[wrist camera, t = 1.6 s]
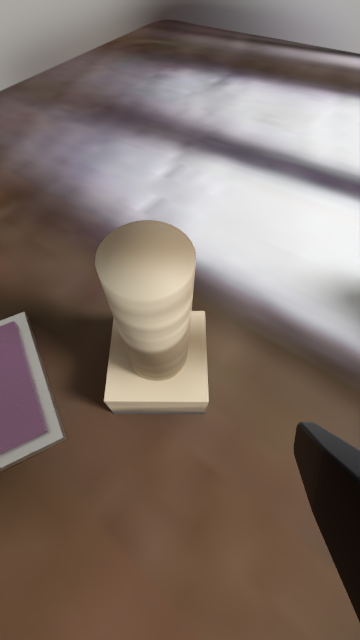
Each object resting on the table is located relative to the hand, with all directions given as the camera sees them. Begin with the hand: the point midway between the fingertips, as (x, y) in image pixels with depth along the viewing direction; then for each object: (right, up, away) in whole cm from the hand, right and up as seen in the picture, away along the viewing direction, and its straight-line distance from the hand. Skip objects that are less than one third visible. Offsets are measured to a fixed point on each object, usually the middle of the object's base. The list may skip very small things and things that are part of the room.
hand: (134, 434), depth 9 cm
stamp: (0, 0, +14) cm, 14 cm away
